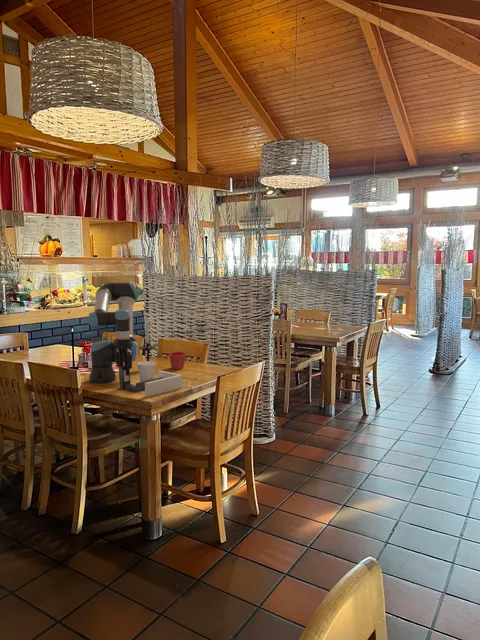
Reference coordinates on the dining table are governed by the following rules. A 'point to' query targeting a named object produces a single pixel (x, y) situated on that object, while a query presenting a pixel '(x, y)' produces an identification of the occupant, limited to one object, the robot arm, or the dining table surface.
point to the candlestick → (147, 342)
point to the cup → (146, 370)
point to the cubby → (164, 383)
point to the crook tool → (129, 386)
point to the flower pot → (177, 360)
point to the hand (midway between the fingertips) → (124, 380)
